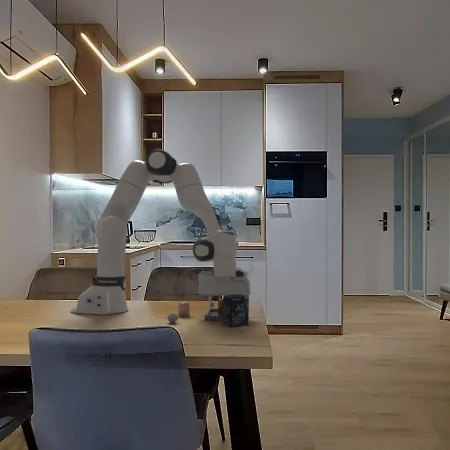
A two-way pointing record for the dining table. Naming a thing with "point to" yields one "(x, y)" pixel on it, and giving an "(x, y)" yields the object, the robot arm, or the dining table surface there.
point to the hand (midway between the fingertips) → (224, 307)
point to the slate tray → (213, 315)
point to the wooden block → (183, 309)
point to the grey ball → (172, 317)
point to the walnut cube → (220, 307)
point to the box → (235, 310)
